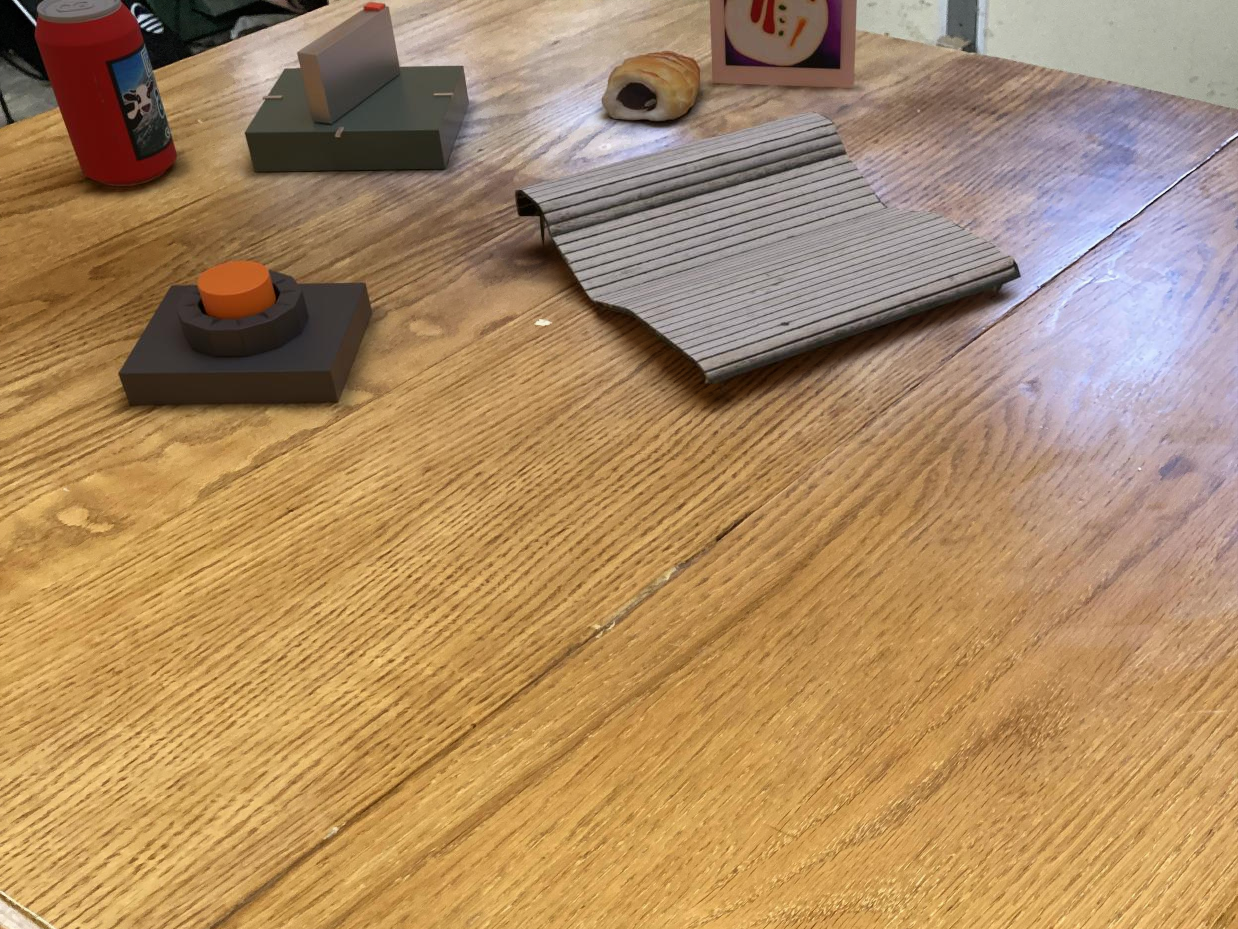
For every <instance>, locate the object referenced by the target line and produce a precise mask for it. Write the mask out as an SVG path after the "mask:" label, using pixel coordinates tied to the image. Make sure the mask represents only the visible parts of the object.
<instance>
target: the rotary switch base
mask: <svg viewBox="0 0 1238 929" xmlns="http://www.w3.org/2000/svg"><path fill="white" fill-rule="evenodd" d="M400 71H401V73H400V74H399V75H397V76H396V77H395V78H393V79H392V80H391V81H389V82H388V83H386V84H385V85H384V86H382V87H381V88H380V89H378V90H377V91H376V92H374V93H373V94H372V95H370V96H369V97H367V98H366V99H365V100H363V101H362V102H361V103H359V104H358V105H357V106H355V107H354V108H353V109H351V110H350V111H348V112H347V113H346V114H344V115H343V116H342V117H340V118H339V119H338V120H336V121H335V122H334V123H332V124H327V123H320V122H313V121H312V116H311V112H310V108H309V103H308V99H307V94H306V90H305V86H304V81H303V77H302V73H301V68H300V67H292V68H291V67H290V68H288V67H287V68H284V69H283V70H282V72H281V73H280V75H279V77H278V79H277V80H276V81H275V83H274V84H273V86H272V88H271V89H270V91H269V92H268V94H267V95H263V96H262V101H263V100H264V101H263V102H262V104H260V107H259V109H258V110H257V112H256V114H255V115H254V116H253V118H252V120H251V121H250V123H249V125H248V126H247V128H246V130H245V131H244V137H245V140H246V144H247V148H248V152H249V156H250V159H251V164H252V166H253V171H254V172H255V173H260V172H266V173H268V172H321V171H324V172H325V171H326V172H327V171H328V172H329V171H330V172H331V171H332V172H333V171H385V170H386V171H388V170H390V171H391V170H392V171H394V170H395V171H396V170H444V169H446V167H447V164H448V162H449V159H450V156H451V153H452V151H453V148H454V145H455V143H456V139H457V138H458V134H459V131H460V129H461V126H462V123H463V120H464V117H465V115H466V112H467V109H468V107H469V105H470V101H469V100H470V99H469V93H468V86H467V79H466V72H465V68H464V65H417V66H416V65H414V66H413V65H412V66H411V65H408V66H400Z"/></svg>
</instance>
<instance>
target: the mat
mask: <svg viewBox="0 0 1238 929" xmlns="http://www.w3.org/2000/svg"><path fill="white" fill-rule="evenodd" d="M514 202H515V207H516V212H517V216H519V217H539V229H540V239H541V243H542V248H543V250H545V233H546V232H545V230H546V228H547V232H548V235H549V237H550V238H551V240H552V242H553V243H554V245H555V247H556V249H557V252H559V255H560V256H561V258H562V259H563V262H564V263H565V264H566V267H568V269H569V270H570V272H571V274H572V276H573V277H574V279H575V280H576V282H577V283H578V285H579V286H580V288H582V290H583V292H585V294H586V295H587V296H588V297H589V299H590V300H591V301H592V302H593V304H594V305H595V306H596V308H601V309H603V310H607V311H612V312H616V313H621V314H624V315H627V316H630V317H632V318H634V319H635V320H637V321H638V322H639V323H640V324H641V325H642V326H644V328H645V329H646V330H648V331H649V332H650V333H652V334H653V335H654V336H655V337H656V338H657V339H659V340H660V341H662V342H663V343H664V344H666V345H667V346H668V347H671V348H672V349H673V350H674V351H676V352H678V353H679V354H680V355H682V356H683V357H684V358H685V359H686V360H688V361H689V362H690V363H692V365H694V366H695V367H696V368H697V369H698V370H699V371H700V373H701V376H702V377H703V380H704V384H716V383H718V382H720V398H721V396H722V393H723V390H724V386H725V383H726V380H727V379H728V380H729V379H730V378H733V377H736V376H739V375H742V374H744V373H745V374H746V373H747V372H751V371H754V370H756V369H760V368H762V367H765V366H769V365H771V364H774V363H777V362H780V361H783V360H786V359H789V358H792V357H795V356H797V355H801V354H803V353H806V352H809V351H813V350H815V349H818V348H820V347H823V346H826V345H829V344H831V343H835V342H837V341H840V340H843V339H845V338H848V337H851V336H855V335H858V334H861V333H863V332H866V331H869V330H872V329H875V328H878V327H881V326H884V325H887V324H890V323H893V322H895V321H898V320H899V321H900V320H903V319H905V318H908V317H911V316H914V315H916V314H920V313H923V312H926V311H928V310H932V309H934V308H937V307H940V306H943V305H946V304H949V303H951V302H954V301H957V300H961V299H963V298H966V297H969V296H973V295H976V294H979V293H983V292H986V291H990V290H994V289H995V296H997V295H998V294H999V292H1000V291H1001V290H1002V287H1003V286H1004V285H1005V284H1008V283H1010V282H1012V281H1015V280H1017V279H1019V278H1022V275H1021V272H1020V269H1019V268H1020V267H1019V265H1018V263H1017V261H1016V260H1015V259H1014V258H1013V256H1012V255H1009V254H1008V253H1005V252H1002V251H1001V250H1000V249H999V248H998V247H997V246H996V245H994V244H992V243H990V242H989V241H987V240H986V239H984V238H982V237H981V236H978V235H976V234H974V233H973V232H971V231H970V230H967V229H966V228H964V227H962V226H960V225H958V224H957V223H955V222H953V221H951V220H949V219H947V218H946V217H944V216H942V215H940V214H938V213H936V212H933V211H925V210H922V211H921V210H909V209H902V208H897V207H889V206H887V205H886V204H885V203H884V202H882V200H881V199H880V198H879V196H878V195H877V193H876V192H875V191H874V189H873V188H872V187H871V185H870V184H869V183H868V182H867V180H866V179H865V176H864V175H863V174H862V173H861V171H860V170H859V168H858V167H857V166H856V164H855V163H854V162H853V161H852V160H851V158H850V157H849V156H848V154H847V151H846V148H845V145H844V143H843V141H842V139H841V137H840V136H839V134H838V132H837V129H836V124H835V122H834V121H832V120H831V119H830V118H829V117H827V116H825V115H822V114H820V113H818V112H815V111H807V112H804V113H800V114H795V115H791V116H787V117H782V118H779V119H775V120H772V121H768V122H765V123H762V124H758V125H755V126H751V127H747V128H744V129H739V130H735V131H731V132H727V133H723V134H720V135H719V134H718V135H715V136H712V137H707V138H703V139H699V140H696V141H691V142H688V143H685V144H679V145H677V146H673V147H670V148H666V149H663V150H659V151H655V152H650V153H646V154H642V155H639V156H634V157H631V158H628V159H623V160H620V161H617V162H613V163H612V162H611V163H609V164H605V165H602V166H598V167H594V168H591V169H586V170H583V171H579V172H576V173H572V174H569V175H564V176H560V177H557V178H552V179H549V180H544V181H540V182H537V183H534V184H530V185H527V186H524V187H521V188H518V189H515V191H514ZM545 225H546V227H545Z"/></svg>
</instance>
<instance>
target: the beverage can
mask: <svg viewBox="0 0 1238 929" xmlns="http://www.w3.org/2000/svg"><path fill="white" fill-rule="evenodd" d="M36 11H37V12H36V13H37V19H36V25H35V29H34V39H35V42H36V45H37V47H38V50H39V53H40V57H41V59H42V63H43V65H44V69H45V71H46V75H47V77H48V80H49V82H50V86H51V89H52V92H53V94H54V98H55V100H56V104H57V106H58V109H59V111H60V115H61V117H62V120H63V123H64V126H65V128H66V131H67V134H68V137H69V140H70V142H71V145H72V149H73V151H74V153H75V156H76V159H77V162H78V164H79V165H78V166H79V167H80V170H81V172H82V174H83V175H84V176H85V177H87V178H89V179H91V180H93V181H95V182H100V183H102V184H104V185H106V186H107V185H108V186H112V187H130V186H132V187H133V186H138V185H142V184H146V183H149V182H152V181H154V180H155V179H158V178H159V177H161V176H162V175H164V174H165V172H166V171H167V170H168V169H169V168H170V167H171V166H172V165H173V164H174V163H175V161H176V159H177V157H178V154H177V149H176V146H175V142H174V139H173V136H172V132H171V128H170V123H169V121H168V116H167V114H166V110H165V108H164V104H163V101H162V100H163V99H162V97H161V94H160V90H159V87H158V83H157V80H156V77H155V73H154V70H153V66H152V63H151V59H150V56H149V54H148V51H147V47H146V43H145V41H144V38H143V34H142V30H141V28H140V24H139V21H138V19H137V18H136V16H135V15H134V13H133V12H131V11H130V9H129V8H128V7H127V6H126V5H125V4H124V3H123V2H122V0H42V1H41V2H39V3H38V5H37V7H36Z"/></svg>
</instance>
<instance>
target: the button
mask: <svg viewBox="0 0 1238 929" xmlns="http://www.w3.org/2000/svg"><path fill="white" fill-rule="evenodd" d="M268 270H269V269H268V268H267V266H265V265H264V264H262V263H260V262H257V261H252V260H235V261H228V262H223V263H221V264H217V265H214V266H212V267H210V268H208V269H206V270H205V271H204V272H202V273H201V275H199V277H198V278H197V281H196V282H197V283H196V285H197V286H198V289H199V292H200V295H201V299H202V302H203V305H204V308H205V311H206V313H207V315H208V316H211V317H214V318H217V319H240V318H244V317H247V316H251V315H255V314H258V313H261V312H263V311H264V310H266V309H268V308H269V307H271V306H272V305H274V304H275V302H276V296H275V292H274V289H273V285H272V281H271V277H270V274H269V271H268Z"/></svg>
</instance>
